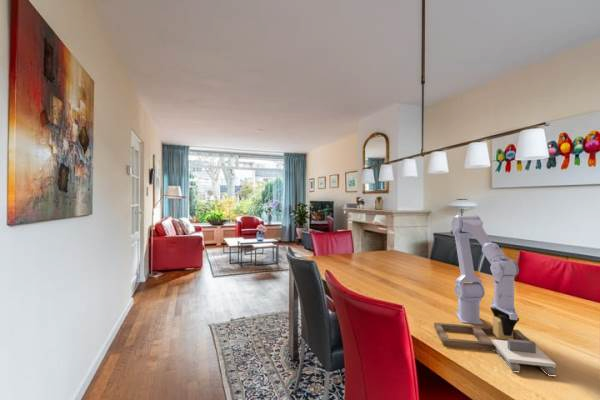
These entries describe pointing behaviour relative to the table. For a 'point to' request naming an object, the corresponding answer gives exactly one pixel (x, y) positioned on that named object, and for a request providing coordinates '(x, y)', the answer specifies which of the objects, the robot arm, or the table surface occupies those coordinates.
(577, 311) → the table surface
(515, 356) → the slide cover
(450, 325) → the brown flat frame
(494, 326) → the ochre block
